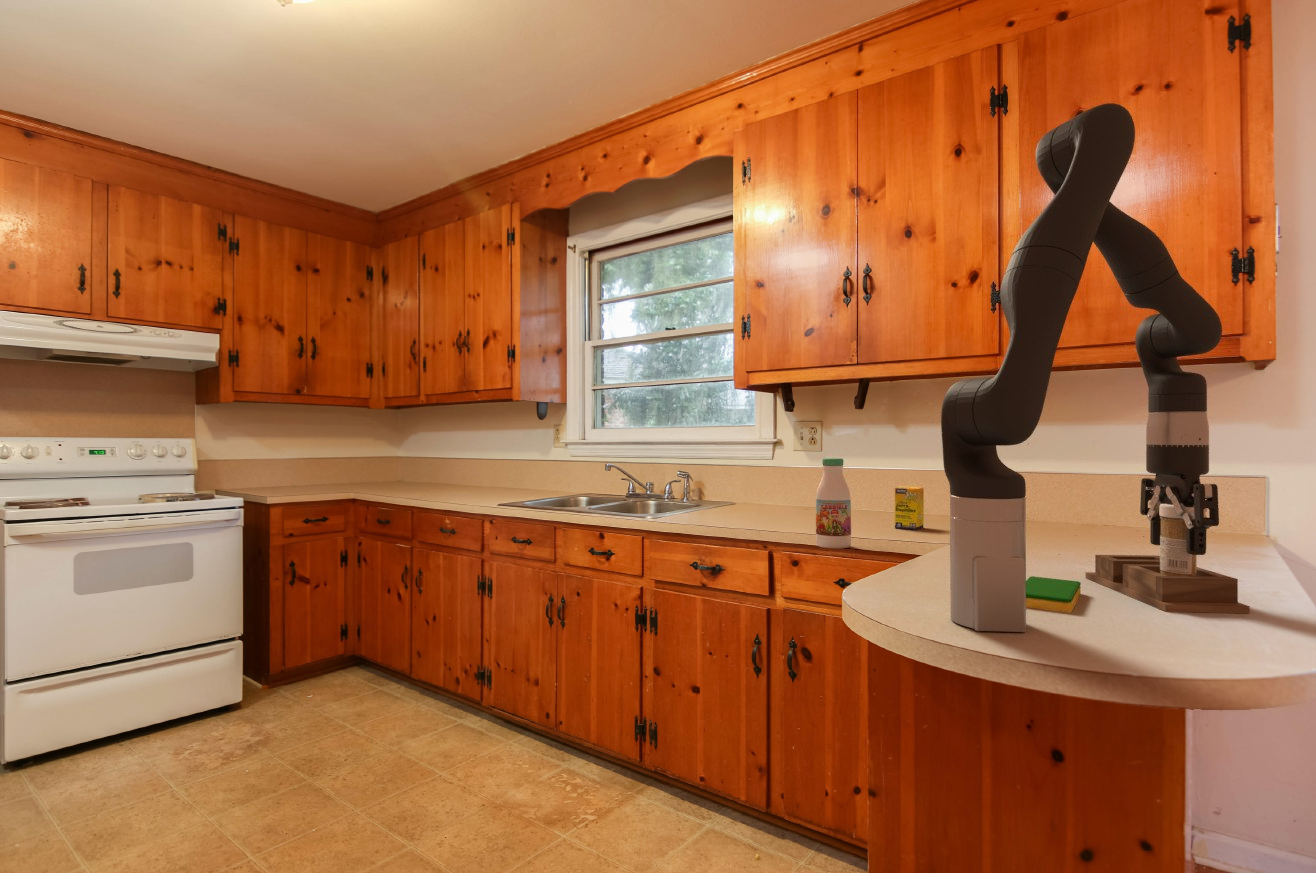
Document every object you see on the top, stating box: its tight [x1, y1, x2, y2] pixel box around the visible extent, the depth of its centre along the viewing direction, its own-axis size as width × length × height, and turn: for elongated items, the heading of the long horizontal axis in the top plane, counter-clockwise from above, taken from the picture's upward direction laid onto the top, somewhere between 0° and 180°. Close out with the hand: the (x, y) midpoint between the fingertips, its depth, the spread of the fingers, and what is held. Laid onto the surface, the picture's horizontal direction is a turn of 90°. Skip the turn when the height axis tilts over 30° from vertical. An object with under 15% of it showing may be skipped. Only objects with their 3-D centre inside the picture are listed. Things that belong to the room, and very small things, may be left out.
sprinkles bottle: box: [1159, 504, 1198, 576], centre depth 101 cm, size 5×5×14 cm
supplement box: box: [894, 485, 925, 531], centre depth 179 cm, size 6×6×11 cm
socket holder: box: [1085, 554, 1250, 614], centre depth 106 cm, size 22×11×4 cm, turn 173°
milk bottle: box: [815, 457, 852, 549], centre depth 152 cm, size 8×8×20 cm
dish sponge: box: [1026, 576, 1082, 613], centre depth 103 cm, size 7×14×2 cm, turn 143°
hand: (1176, 549), depth 101 cm, fingers open, 8 cm apart
